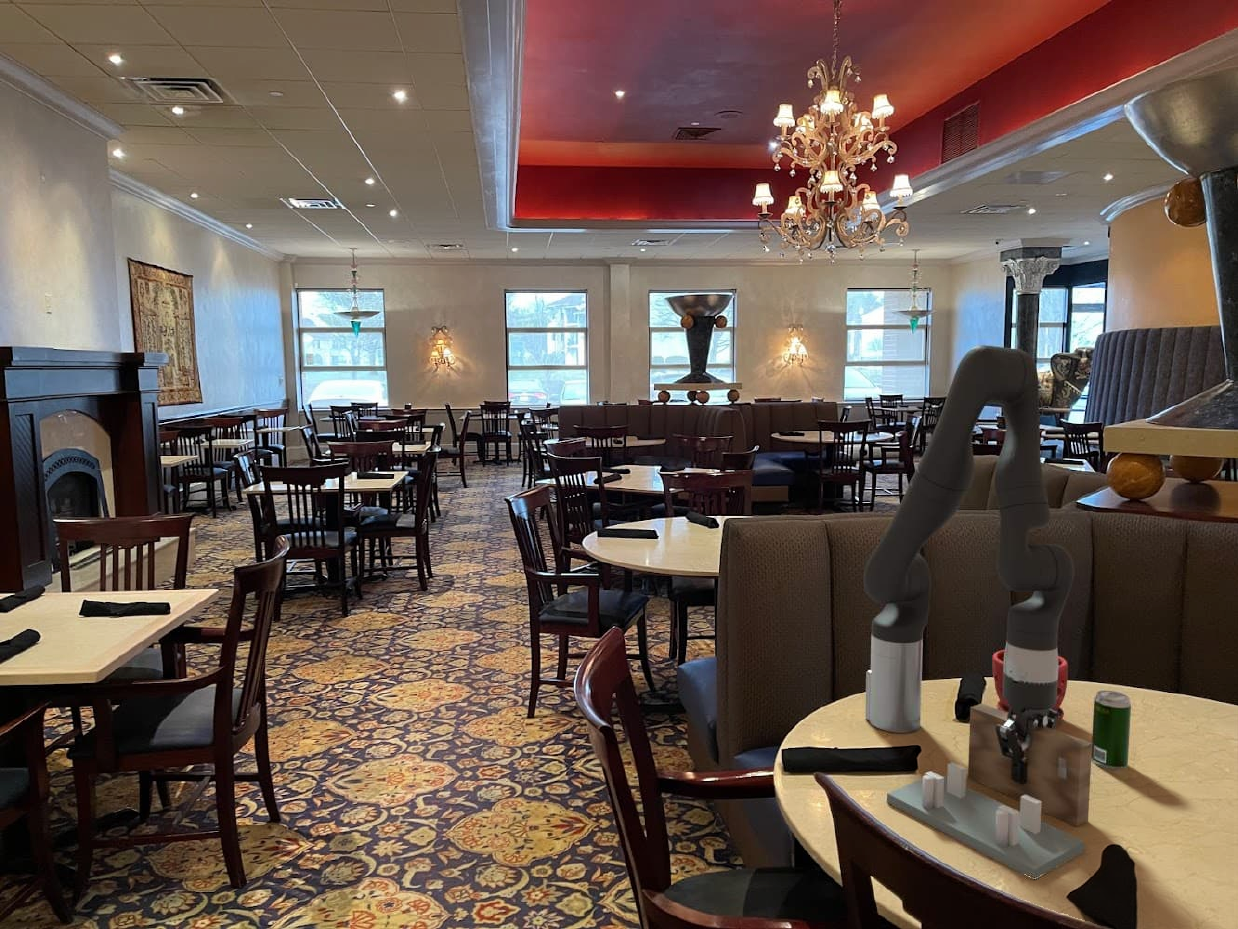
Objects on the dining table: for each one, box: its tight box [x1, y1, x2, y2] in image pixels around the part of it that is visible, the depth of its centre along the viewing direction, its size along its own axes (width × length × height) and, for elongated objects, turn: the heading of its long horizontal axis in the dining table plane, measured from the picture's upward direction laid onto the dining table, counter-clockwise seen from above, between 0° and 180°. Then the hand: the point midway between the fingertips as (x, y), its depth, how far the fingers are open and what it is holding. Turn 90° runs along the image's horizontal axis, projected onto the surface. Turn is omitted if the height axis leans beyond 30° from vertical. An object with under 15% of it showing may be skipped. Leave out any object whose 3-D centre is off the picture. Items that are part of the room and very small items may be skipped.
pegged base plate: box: [886, 761, 1086, 879], centre depth 121 cm, size 24×12×6 cm, turn 32°
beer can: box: [1091, 690, 1132, 771], centre depth 140 cm, size 5×5×12 cm
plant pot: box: [991, 649, 1069, 724], centre depth 160 cm, size 13×13×12 cm
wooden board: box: [967, 703, 1092, 828], centre depth 129 cm, size 18×3×12 cm, turn 32°
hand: (1025, 778), depth 129 cm, fingers closed on wooden board, 3 cm apart
